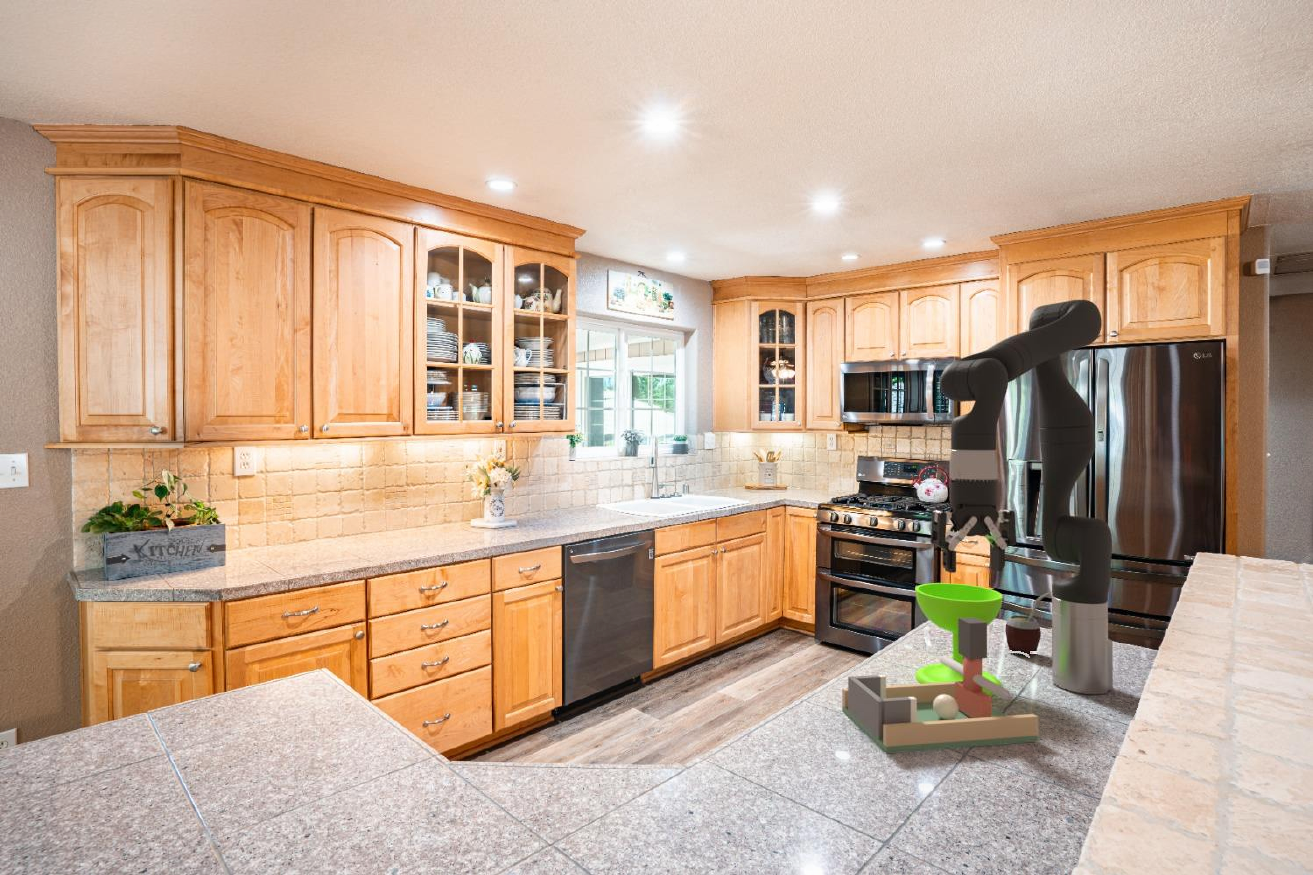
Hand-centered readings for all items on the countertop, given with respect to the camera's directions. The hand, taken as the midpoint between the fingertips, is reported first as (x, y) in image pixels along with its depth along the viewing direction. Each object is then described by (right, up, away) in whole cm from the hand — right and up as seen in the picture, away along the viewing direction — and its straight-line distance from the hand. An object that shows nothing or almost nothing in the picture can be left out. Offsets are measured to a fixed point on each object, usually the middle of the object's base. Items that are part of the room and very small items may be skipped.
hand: (973, 571), depth 112 cm
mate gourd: (+29, -26, +36) cm, 53 cm away
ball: (-5, -23, 0) cm, 24 cm away
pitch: (-7, -26, -1) cm, 27 cm away
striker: (0, -25, 0) cm, 25 cm away
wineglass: (+6, -26, +19) cm, 33 cm away
